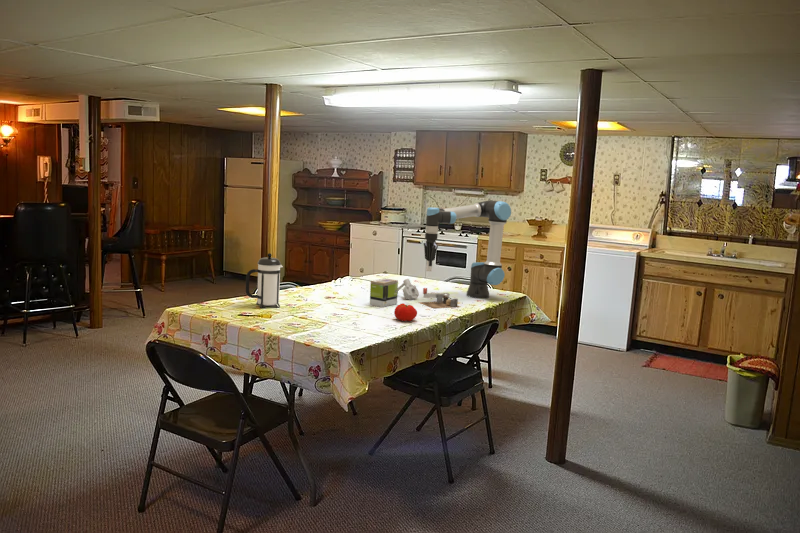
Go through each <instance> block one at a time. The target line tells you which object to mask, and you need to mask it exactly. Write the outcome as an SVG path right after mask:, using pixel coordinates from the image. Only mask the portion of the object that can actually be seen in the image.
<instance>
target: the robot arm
mask: <svg viewBox="0 0 800 533" xmlns="http://www.w3.org/2000/svg"><path fill="white" fill-rule="evenodd" d="M511 214H512V209H511V206H510V204H509V203H507V201H506V202H505V201H503V200H493V199H488V200H484V201H478V202H474V203H473V204H471V205H470V204H469V205H461V206H454V207H453V206H452V207H445V208H439V207H433V206H432V207H431V206H430V207H427V210H426V214H425V215H426V216H425V219H426V220H425V235H424V239H425V242H424V243H423V248H424V249H423V250H424V259H425V260H426V272H432V268H433V261H435V259H436V255H437V250H438V248H439V246H438V245H437V242H436V241H437V240H438V233H439V224H447V225H451V224H455V223H456V221H457V219H458V220H459V219H463V218H471V217H475V218H487V219H488V221H487V222H488V223H489V224H490V225H489V235H488V245H487V253H486V261H484V262H482V261H481V262H478V261H475V262H474V261H473V262H472V263H471V266H470V279H469V286H468V288H467V291H466V296H467V297H469V296H470V298H475V297H476V298H477V299H486V298H487V299H489V297H490V292H489V287H488V285H490V286H491V285H492V286H498V285H500V284H501V283H502V282H503V281H504V278H505V271H504V270H503V265H502V262H501V254H502V247H503V246H502V244H503V239H504V238H503V234H504V226H505V225H506V224H507V220H508V219H509V218H510V217H511ZM476 298H475V299H476Z"/></svg>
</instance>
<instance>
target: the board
mask: <svg viewBox="0 0 800 533" xmlns="http://www.w3.org/2000/svg"><path fill="white" fill-rule="evenodd" d="M448 299H449V298H443V301H442V303H437V300H435V301H422V302H421V301H418V302H417V303H418V304H420V305H422V306H426V307H429V308H430V309H433V310H434V309H435V310H436V309H450V308H451V309H453V308H461V306H460V305H459V304H458V303H459V302H458V300H459V299H458V298H452V299H451V298H450V299H451V305H450V306H448V305H447V304H446V300H448Z"/></svg>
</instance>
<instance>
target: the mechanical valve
mask: <svg viewBox="0 0 800 533" xmlns="http://www.w3.org/2000/svg"><path fill="white" fill-rule="evenodd" d="M401 289H402V292H403V296H404V299H406V300H410V301H415V300H416V299H417V298H418V297H419V296H420V292H419V290H418V288H417V286H416V285H414V284H412V282H411V280H410V279H409V278H406V279H404V280H403V283H402V284H401V285H400V286H398V293H397V295H398V294H399V290H401Z"/></svg>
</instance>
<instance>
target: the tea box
mask: <svg viewBox="0 0 800 533" xmlns="http://www.w3.org/2000/svg"><path fill="white" fill-rule="evenodd" d="M369 285H370V286H369V287H370V288H369V289H370V291H369V305H370V306H375V307H379V308H383V307H389V306H392V305H398V294H399V291H398V288H399V286H398V285H399V281H398V280H397V279H391V278H380V279H375V280H371V281H370V284H369ZM397 293H398V294H397Z"/></svg>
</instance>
